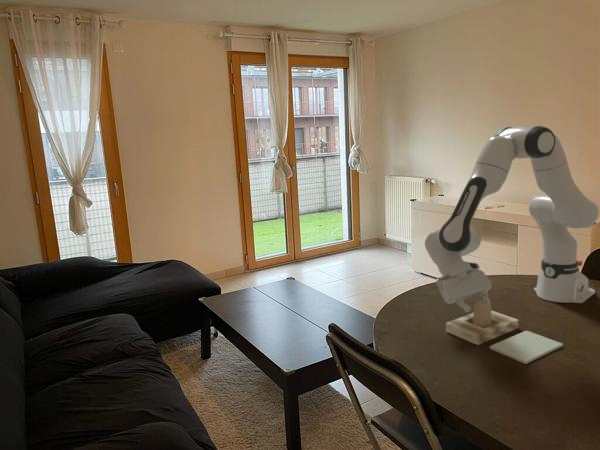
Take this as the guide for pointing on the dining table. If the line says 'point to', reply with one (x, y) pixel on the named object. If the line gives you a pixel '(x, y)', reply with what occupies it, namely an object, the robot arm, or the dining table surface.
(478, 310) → the candle
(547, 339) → the sage mat
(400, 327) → the dining table surface
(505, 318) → the socket block
